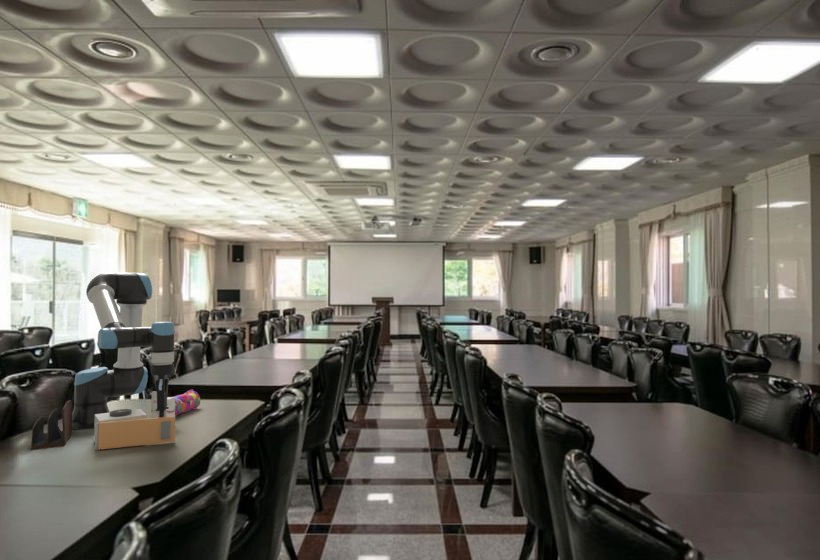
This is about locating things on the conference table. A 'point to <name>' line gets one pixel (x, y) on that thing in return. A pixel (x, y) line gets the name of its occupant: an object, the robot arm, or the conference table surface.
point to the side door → (134, 432)
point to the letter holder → (53, 429)
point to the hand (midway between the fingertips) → (161, 427)
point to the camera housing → (119, 416)
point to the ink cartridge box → (170, 404)
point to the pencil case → (186, 402)
